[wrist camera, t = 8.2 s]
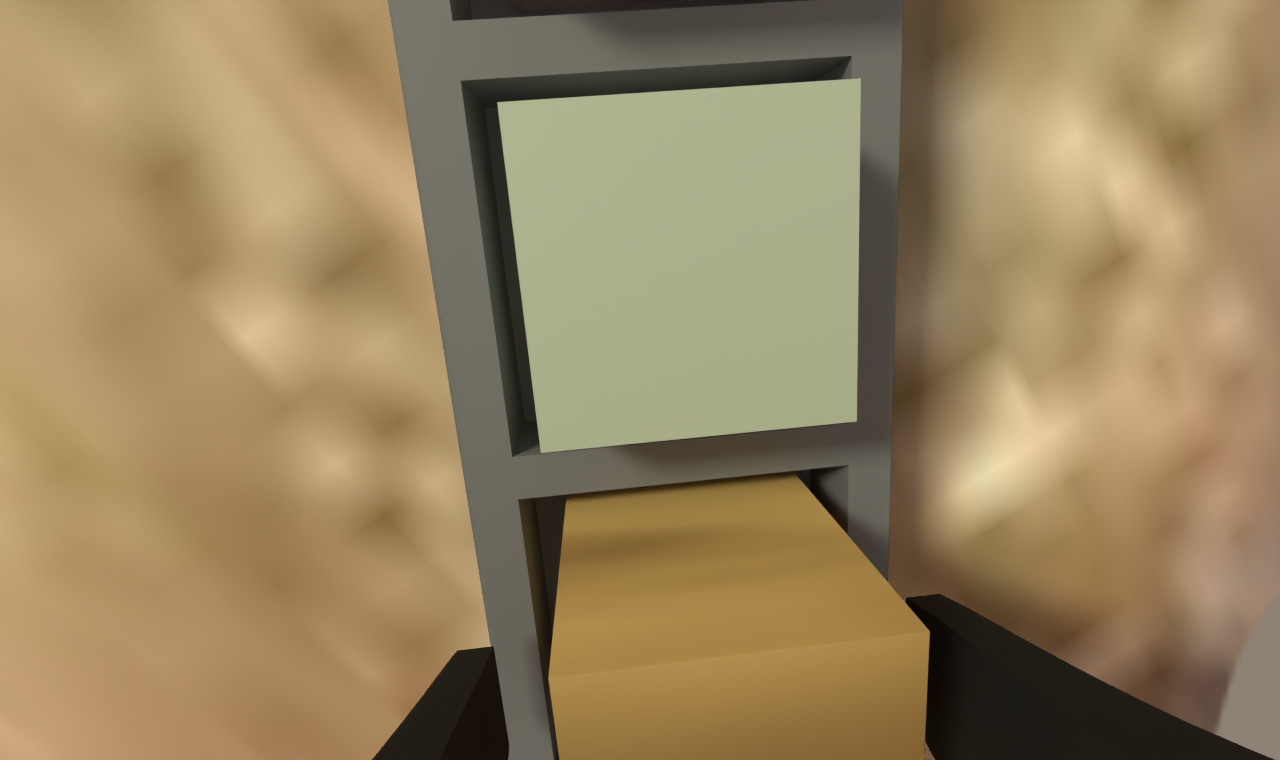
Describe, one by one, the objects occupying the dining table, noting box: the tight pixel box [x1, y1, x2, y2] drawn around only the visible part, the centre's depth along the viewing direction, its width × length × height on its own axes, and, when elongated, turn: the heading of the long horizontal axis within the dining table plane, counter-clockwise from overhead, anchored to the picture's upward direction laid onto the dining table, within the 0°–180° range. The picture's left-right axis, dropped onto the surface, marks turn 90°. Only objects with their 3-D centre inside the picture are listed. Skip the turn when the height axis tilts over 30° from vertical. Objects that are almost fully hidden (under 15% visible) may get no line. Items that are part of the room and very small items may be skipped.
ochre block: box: [548, 471, 930, 760], centre depth 10 cm, size 4×4×6 cm
